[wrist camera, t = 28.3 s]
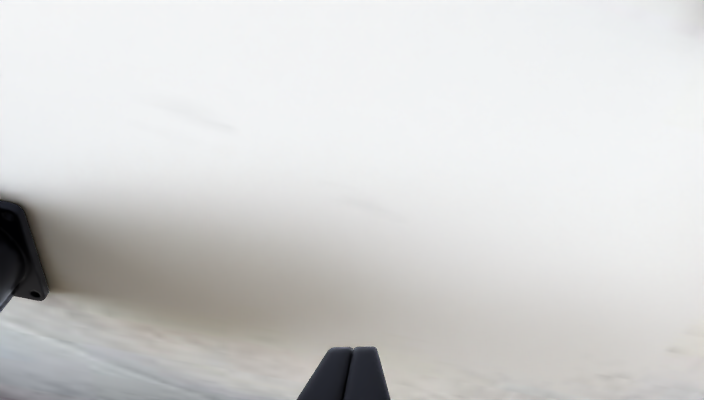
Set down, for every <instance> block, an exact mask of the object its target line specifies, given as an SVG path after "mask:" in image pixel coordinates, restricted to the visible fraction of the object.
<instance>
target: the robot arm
mask: <svg viewBox="0 0 704 400" xmlns="http://www.w3.org/2000/svg"><path fill="white" fill-rule="evenodd" d="M48 294H49V289H48V285H47V282H46V279H45V276H44V273H43V269H42V266H41V263H40V260H39V257H38V254H37V250H36V247H35V244H34V241H33V238H32V234H31V231H30V228H29V225H28V222H27V219H26V215H25V212H24V211H23V209H22V208H21V207H20V206H18V205H16V204H14V203H11V202H6V201H1V200H0V312H1V311H2V310H3V308H4V307H5V306H6V305H7V303H8V302H9V301H10V300H11V298H12V297H13V296H17V297H22V298H27V299H32V300H37V301H42V300H44V299H45V298H46V296H47V295H48ZM297 400H390V396H389V392H388V388H387V385H386V381H385V377H384V373H383V370H382V366H381V362H380V358H379V355H378V351H377V348H376V347H356V348H354V350H353V348H351V347H334V348H331V349H329V350H328V352H327V353H326V354H325V356H324V358H323V359H322V361H321V362H320V364H319V365H318V367H317V369H316V370H315V372H314V373H313V375H312V376H311V378H310V379H309V381H308V383H307V384H306V386H305V387H304V389H303V390H302V392H301V393H300V395H299V397H298V398H297Z"/></svg>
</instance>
